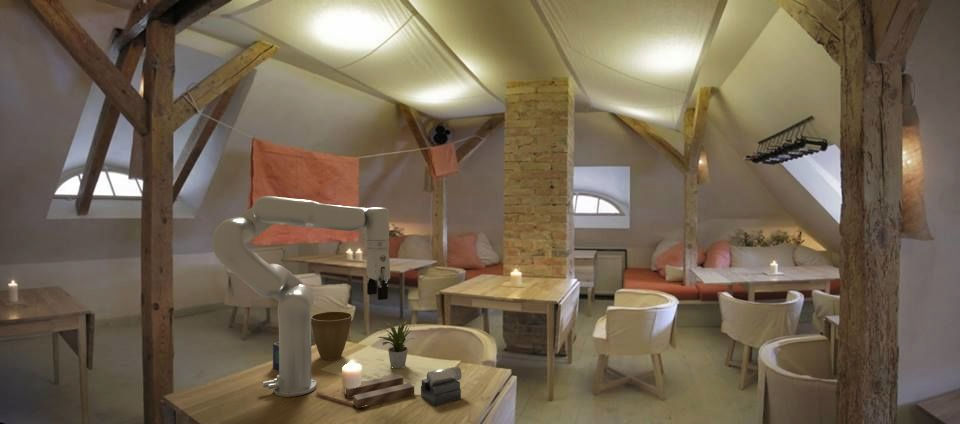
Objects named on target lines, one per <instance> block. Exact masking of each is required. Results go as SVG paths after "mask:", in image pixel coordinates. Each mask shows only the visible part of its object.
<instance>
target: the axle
mask: <svg viewBox="0 0 960 424" xmlns="http://www.w3.org/2000/svg"><path fill="white" fill-rule="evenodd" d="M462 377H463V376H462V370H461V368H460V366H458V365H457V366H453V367H447V368H442V369H436V370H431V371H428V372H426V379H427V382H428V384H429V385H430V386H432V385H436V384H440V383H444V382H448V381H453V380H457V381H460V380H461V379H462Z"/></svg>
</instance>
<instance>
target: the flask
mask: <svg viewBox="0 0 960 424" xmlns="http://www.w3.org/2000/svg"><path fill="white" fill-rule="evenodd" d="M272 370H273V371H278V372H279V341H277V342H274V343H273V344H272Z"/></svg>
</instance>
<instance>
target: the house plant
mask: <svg viewBox="0 0 960 424" xmlns="http://www.w3.org/2000/svg"><path fill="white" fill-rule="evenodd" d="M407 321H408V320H405V321H404V322H403V323H402V324H401V322H399V324H398V327H397V331H396V328H395V326H394V325H391V323H389V322H387V321H386V322H385V323H387V324H388V326H389V328H390V330H391V332H390V331H389V330H387V329H386V328H383V327H382V328H381V327H380V329H381V330H382V331H386V333H387V334H386V335H387V337H386V336H378V337H377V338H378V339H382V340H383V341H384V342H381V344H380V345H382V346H384V345H387V344H390V345H391V347H389V348H388V349H387V350H388V356H389V358H388V359H389V364H390V368H391V367H393V368H392V369H394V368H400V369H403V368H405V367H406V362H407V357H408V351H409V347H407V346H406V344H405V343H406V342H407V341H409V340H412V339H413V340H414V339H415V337H412V338H411V337H410V338H408V339H406V337H407V336H408V335H409V334H410V333H411V330H410V328H411V326H409V323H407ZM406 323H407V325H406ZM415 340H416V339H415ZM388 341H389V342H388ZM382 346H381V347H382Z"/></svg>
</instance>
